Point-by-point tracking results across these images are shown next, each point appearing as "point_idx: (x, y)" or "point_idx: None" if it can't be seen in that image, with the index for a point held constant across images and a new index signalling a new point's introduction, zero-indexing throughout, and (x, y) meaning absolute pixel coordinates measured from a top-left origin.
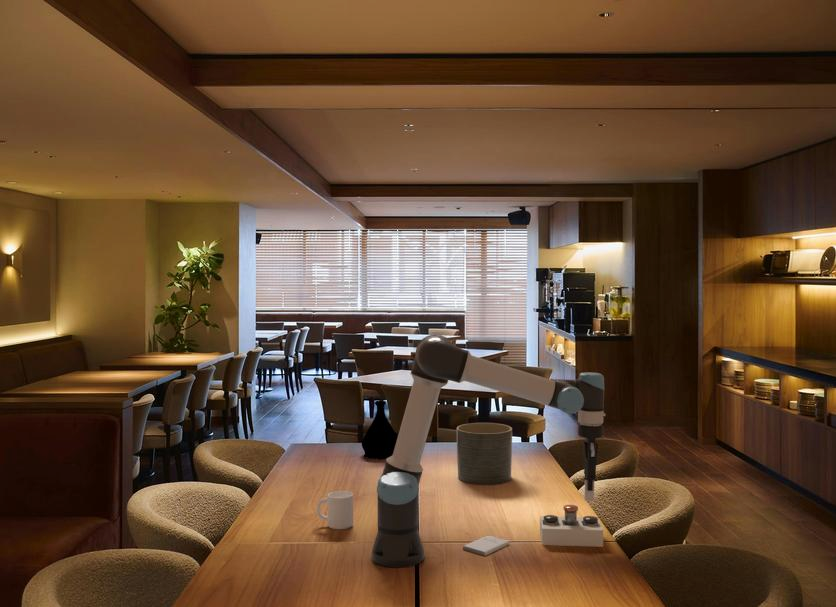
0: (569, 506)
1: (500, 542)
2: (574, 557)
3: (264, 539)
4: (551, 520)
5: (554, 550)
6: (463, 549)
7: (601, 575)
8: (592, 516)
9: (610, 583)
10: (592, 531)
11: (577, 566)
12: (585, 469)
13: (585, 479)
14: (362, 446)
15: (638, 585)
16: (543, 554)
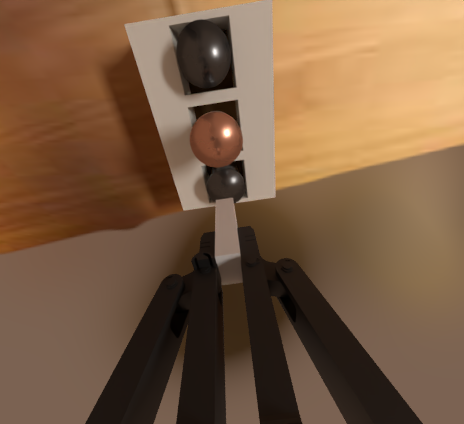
0: (220, 137)
1: None
2: (97, 137)
3: None
4: (178, 61)
5: (118, 81)
6: None
7: (30, 192)
8: (242, 192)
9: (4, 207)
10: (176, 187)
11: (45, 146)
12: (247, 297)
13: (195, 261)
14: None
15: (31, 243)
16: (70, 47)
